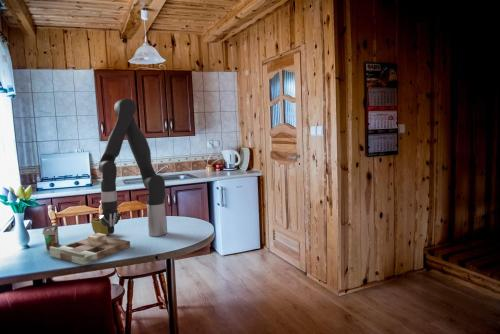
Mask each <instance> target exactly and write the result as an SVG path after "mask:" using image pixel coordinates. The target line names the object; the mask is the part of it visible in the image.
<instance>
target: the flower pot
mask: <svg viewBox="0 0 500 334" xmlns="http://www.w3.org/2000/svg"><path fill="white" fill-rule="evenodd" d="M105 221H106V220H105ZM90 223H91V227H92V231H93V233H94V234H97V233H101V234H106V237H108V236H109V235H111V234H109V233H108V227H107V226H104V225H103V224H102V223H101V222H100V221H99V220H98V218H96V219H92V220H90Z"/></svg>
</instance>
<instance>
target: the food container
mask: <svg viewBox="0 0 500 334" xmlns="http://www.w3.org/2000/svg"><path fill="white" fill-rule="evenodd" d="M58 228H59V225H58V224H53V225H49V226H46V227H44V228H43V230H42V233H41V234H42V235H43V236H44V241H45V246H46V250H49V251H50V248H49V247H51V246H52V247H56V248H58V247H59V245H60V239H59V229H58Z"/></svg>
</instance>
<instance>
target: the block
mask: <svg viewBox="0 0 500 334" xmlns="http://www.w3.org/2000/svg"><path fill="white" fill-rule="evenodd" d="M106 237H107V236H106V234H101V233H97V234H95V233H94V234H91V235H88V236H87V238H88V244H90V245H94V246H98V245H101V244H103V243H106V242H107V238H106Z"/></svg>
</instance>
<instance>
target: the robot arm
mask: <svg viewBox="0 0 500 334" xmlns="http://www.w3.org/2000/svg"><path fill="white" fill-rule="evenodd" d="M113 108H114V113H115V115H116V117H117V119H116V122H115V125H114V127H113V129H112V131H111V132H110V134H109V136H108V140H107V143H106V146H105V150H104V151H103V153H102V156H101V158H100V160H99V162H98V171H99V172H100V173H101V174H102V179H101V181H100V190H101V191H100V194H101V195H100V201H101V203H100V204H101V210H102V212H101V216H100V217H98V218H97V219H98V220H99V221H100V222H101V223H102V224H103V225H104V226H107V227H108V233H109V234H110V235H112V234H114V233H115V225H117V224H118V223H119V221H120V219H121V217H122V215H123V214H122V213H121V212H119V211H118V207H119V206H118V193H117V183H116V180H117V175H118V174H117V171H118V169H117V165H116V163H115V162H116V159H117V158H118V157H119V155H120V153H121V150H122V146H123V144H124V139H125V137H126V139H127V140H126V141H127V143H128V145H129V147H130V148H129V149H130V150H131V153H132V155H133V158H134V160H135V162H136V164H137V166H138V169H139V172H140V176H141V180H142V183H143V185H144V188H145V189H146V190H148V198H147V199H146V211H147V225H148V226H147V227H148V228H147V229H148V235H149V236H150V237H162V236H164V234H165V235H166V234H167V233H168V224H167V223H168V222H167V220H168V219H167V216H166V210H165V199H166V198H165V197H166V183H165V179H164V177H163V176H162V175H160V174H157V173H156V171H155V169H154V166H153V165H152V163H153V162H152V156H151V155H152V154H151V147H150V146H149V142H148V141H147V138H146V136H145V134H144V133H143V131H142V130H141V129H140V127H139V126H138V124H137V122H136V119H135V114H136V111H137V104H136V102H135V101H134V100H133V99H131V98H122V99H119V100H117V101H116V102H115V104H114V107H113ZM105 220H106V221H105ZM166 232H167V233H166ZM161 235H162V236H161Z"/></svg>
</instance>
